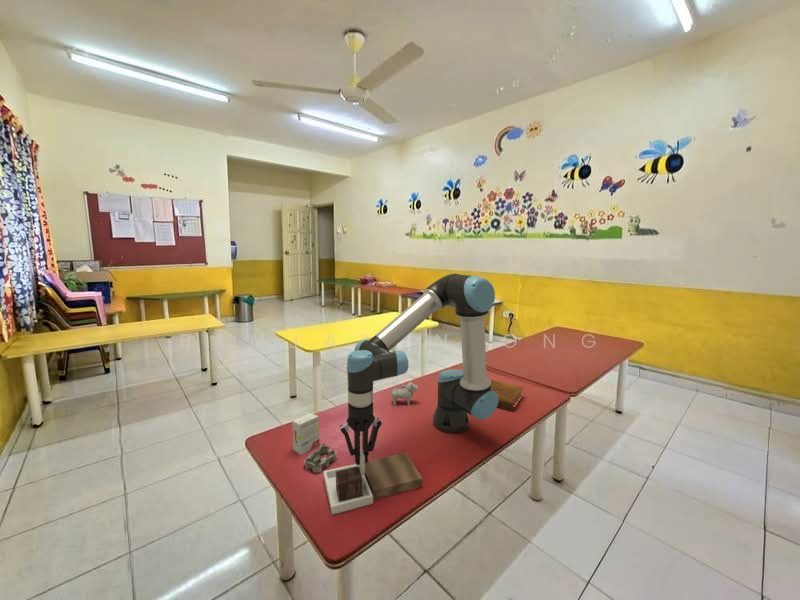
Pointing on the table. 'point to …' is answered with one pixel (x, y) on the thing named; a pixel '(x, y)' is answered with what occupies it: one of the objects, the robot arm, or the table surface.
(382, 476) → the wooden board
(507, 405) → the diary
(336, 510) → the bin
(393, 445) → the table surface
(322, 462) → the grey lobed frame
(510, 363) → the table surface
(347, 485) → the box
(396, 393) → the dog figurine
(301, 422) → the ink box
